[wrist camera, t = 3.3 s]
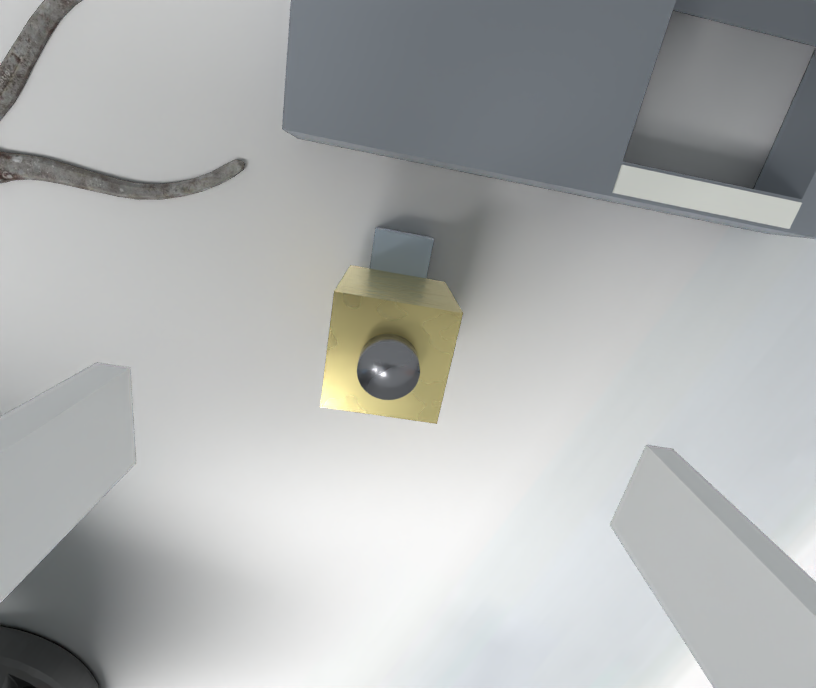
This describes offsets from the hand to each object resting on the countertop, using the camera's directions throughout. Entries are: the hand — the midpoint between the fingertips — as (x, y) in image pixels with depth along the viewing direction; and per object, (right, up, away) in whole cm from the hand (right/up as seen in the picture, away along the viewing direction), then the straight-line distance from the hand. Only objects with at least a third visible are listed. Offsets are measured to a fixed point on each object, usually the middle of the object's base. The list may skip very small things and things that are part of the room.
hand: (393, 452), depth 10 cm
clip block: (-1, +4, +11) cm, 12 cm away
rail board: (+9, +16, +9) cm, 20 cm away
